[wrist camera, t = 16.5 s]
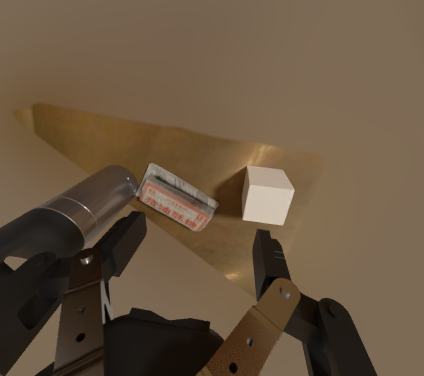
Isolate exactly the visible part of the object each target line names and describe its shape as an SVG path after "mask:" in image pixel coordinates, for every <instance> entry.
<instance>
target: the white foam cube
mask: <svg viewBox="0 0 424 376" xmlns="http://www.w3.org/2000/svg"><path fill="white" fill-rule="evenodd" d="M294 191H295V190H294V188H293V187H292V185H291V183H290V181H289V180H288V178H287V176H286V175H285V173H284V171H283V170H279V169H271V168H263V167H254V166H247V170H246V175H245V181H244V186H243V191H242V214H243V220H248V221H255V222H263V223H270V224H277V225H283V224H284V221H285V218H286V215H287V212H288V209H289V206H290V203H291V200H292V197H293V194H294Z"/></svg>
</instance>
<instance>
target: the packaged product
mask: <svg viewBox="0 0 424 376" xmlns="http://www.w3.org/2000/svg"><path fill="white" fill-rule="evenodd" d="M136 196H138V197H140V201H142V202H144V203H145V204H147V205H149V206H150V207H152V208H154V209H156V210H158V211H159V212H161V213H163V214H165V215H167V216H168V217H170V218H172V219H174V220H176V221H177V222H179V223H181V224H183V225H184V226H186V227H188V228H189V229H191V230H193V231H195V232H199V231H201V230H202V229H203V228H205V226H206V225H207V223H208V222H209V220H210V219H211V218H212V217H213V212H214V211H215V210H216V209H217V207H218V206H219V202H217V201H216V200H214V199H212V198H211V197H209V196H207V195H206V194H204V193H203V192H201V191H200V190H198V189H196V188H195V187H193V186H191V185H190V184H188V183H187V182H185V181H183V180H182V179H180V178H178V177H176V176H175V175H173V174H172V173H170V172H168V171H166V170H165V169H163V168H161V167H159V166H157V165H156V164H153V163H150V164H149V166H148V168H147V171H146V173H145V175H144V178H143V180H142V182H141V185H140V187H139V189H138V191H137V194H136Z"/></svg>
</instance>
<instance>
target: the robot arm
mask: <svg viewBox="0 0 424 376" xmlns="http://www.w3.org/2000/svg"><path fill="white" fill-rule="evenodd" d="M137 191H138V185H137V181H136V180H135V178H134V176H133V175H132V174H131V173H130V172H129V171H128V170H126V169H124V168H122V167H119V166H108V167H106V168H104V169H102V170H101V171H99V172H97V173H95V174H93V175H92V176H90V177H88V178H87V179H85V180H83V181H81V182H79V183H78V184H76V185H74V186H72V187H71V188H69V189H68V190H66V191H64V192H62V193H60V194H59V195H57V196H55V197H53V198H52V199H50V200H48V201H46V202H45V203H43V204H41V205H40V206H38V207H36V208H34V209H32V210H30V211H29V212H27V213H25V214H23V215H22V216H21V217H18V218H17V219H15V220H13V221H11V222H10V223H8V224H6V225H4V226H3V227H1V228H0V376H5V375H6V374H7V373H8V372H9V370H10V369H11V368H12V366H13V365H14V364H15V362H16V361H17V360H18V359H19V357H20V356H21V355H22V353H23V352H24V351H25V349H26V348H27V347H28V345H29V344H30V343H31V342H32V340H33V339H34V338H35V337H36V335H37V334H38V333H39V331H40V330H41V329H42V328H43V326H44V325H45V324H46V322H47V321H48V320H49V318H50V317H51V316H52V315H53V313H54V312H55V311H56V309H57V308H58V307H59V305H60V304H61V303H62V306H61V313H60V322H59V330H58V338H57V346H56V354H55V361H54V362H53V363H52V364H50V365H49V366H47V367H46V368H45V369H43V370H42V371H40V372H39V373H38V374H36V375H35V376H259V375H260V373H261V371H262V369H263V368H264V366H265V364H266V362H267V360H268V358H269V357H270V355H271V353H272V351H273V349H274V347H275V346H276V344H277V342H278V340H279V338H280V336H281V335H282V333H283V331H284V332H286V333H287V334H289V335H291V336H293V337H295V338H296V339H298V340H300V341H302V345H303V350H304V355H305V359H306V364H307V369H308V374H309V376H377V374H376V372H375V369H374V367H373V365H372V363H371V361H370V358H369V356H368V354H367V352H366V349H365V347H364V345H363V343H362V341H361V338H360V336H359V334H358V332H357V329H356V327H355V325H354V323H353V321H352V319H351V316H350V314H349V313H348V311H347V310H346V309H345V308H344V307H343V306H342V305H341V304H340V303H338V302H337V301H335V300H333V299H330V298H323V299H321V300H320V301H319V302H318V301H316V300H314V299H312V298H310V297H308V296H305V295H304V294H302V293H301V292H300V291H299V289H298V288H297V286H296V285H295V284H294V283H293V282H292V281H291V278H290V274H289V271H288V268H287V264H286V260H285V257H284V254H283V250H282V246H281V245H280V243H279V242H278V241H277V239H271V236H270V232H269V230H262V229H257V232H256V236H255V240H254V244H253V251H252V254H253V265H254V276H255V287H256V298H257V302H258V303H257V304H256V305H255V306H252V307H251V308H250V309H249V310H248V311H247V313H246V314H245V315H244V317H243V318H242V319H241V320H240V322H239V323H238V324H237V326H236V327H235V328H234V329H233V331H232V332H231V333H230V335H229V336H228V337H227V339H226V340H225V341H224V339H223V338H222V337H221V336H220V335H219V334H218V333H216V332H215V331H214V330H212V329H210V328H209V327H210V322H209V321H203V320H198V319H192V318H189V319H178V320H167V319H165V318H163V317H161V316H159V315H157V314H156V313H154V312H152V311H149V310H143V309H138V308H132V309H131V311H130V313H129V314H127V315H122V316H120V317H117V318H114V317H113V312H112V303H111V293H110V283H109V280H110V278H111V277H112V276H115V277H120V275H121V273H122V272H123V270H124V269H125V267H126V266H127V264H128V263H129V261H130V259H131V258H132V256H133V255H134V253H135V252H136V250H137V248H138V247H139V245H140V244H141V242H142V241H143V239H144V238H145V235H146V232H147V231H146V230H147V227H146V219H145V213H144V212H139V211H132V212H131V213H130V214H129V215H128V216H127V217H123V218H121V219H120V220H118V221H117V222H116V223H115V224H114V225H113V226H112V227H111V228H110V229H109V231H108V232H106V233H105V235H104V236H103V237H102V238H101V239H100V240H99V241H98V242H97V243H96V244H95V245H94V246H93V247H92V248H87V249H84V250H82V249H83V248H84V247H85V246H86V245H87V244H88V243H89V242H90V241H91V240H92V239H93V238H94V237H95V236H96V235H97V234H98V233H99V232H100V231H101V230H102V229H103V228H104V227H105V226H106V225H107V224H108V223H109V222H110V221H111V220H112V219H113V218H114V217H115V216H116V215H117V214H118V213H119V212H120V211H121V210H122V209H123V208H124V207H125V206H126V205H127V204H128V203H129V202H130V201H131V200H132V199H133V198H134V197H135V196H136V194H137ZM8 256H14V257H21V258H25V259H28V260H27V261H26V262H25V263H23V264H22V265H21V266H20V267H19V268H17V269H16V270H15V271H14V270H13V269H11V268H10V267H9V266H8V265H7V264H5V262H4V260H5V258H6V257H8Z"/></svg>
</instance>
